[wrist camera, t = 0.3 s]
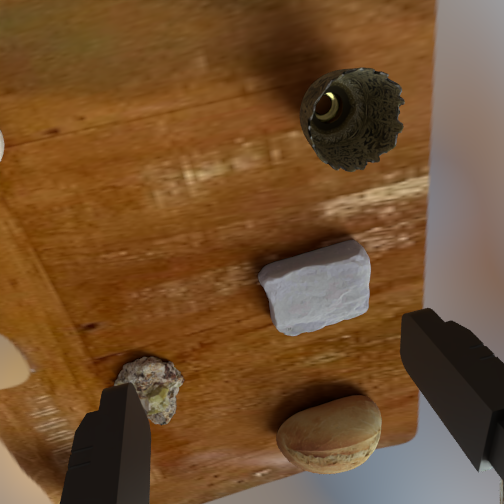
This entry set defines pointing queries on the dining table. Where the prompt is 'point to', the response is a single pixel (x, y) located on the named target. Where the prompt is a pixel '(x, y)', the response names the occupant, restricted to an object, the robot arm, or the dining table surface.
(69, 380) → the dining table surface
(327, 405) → the bread roll
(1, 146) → the cue ball
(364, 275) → the stone block
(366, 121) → the cup
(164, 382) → the mineral rock
